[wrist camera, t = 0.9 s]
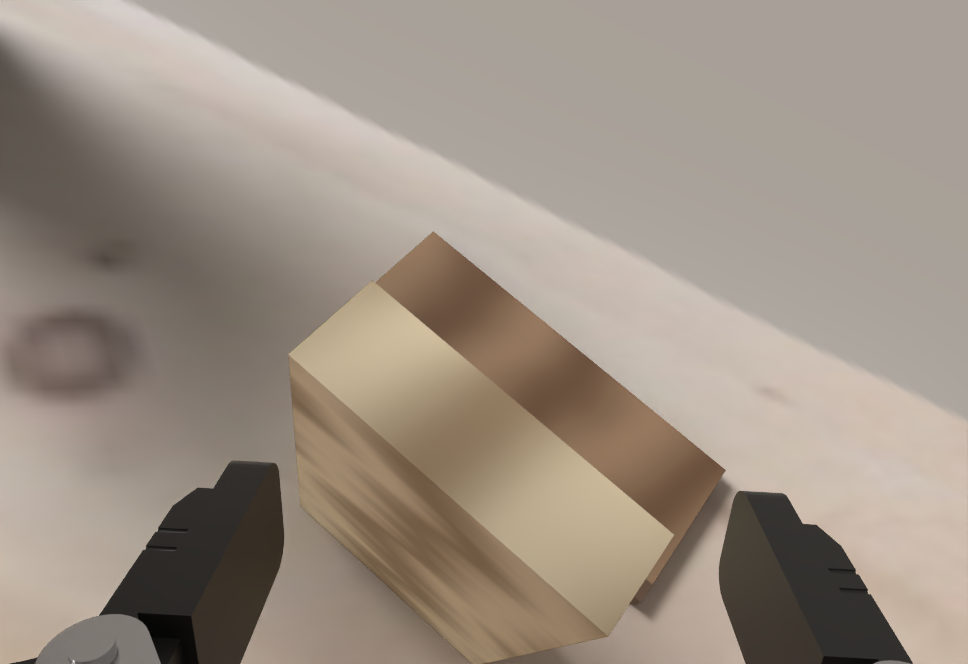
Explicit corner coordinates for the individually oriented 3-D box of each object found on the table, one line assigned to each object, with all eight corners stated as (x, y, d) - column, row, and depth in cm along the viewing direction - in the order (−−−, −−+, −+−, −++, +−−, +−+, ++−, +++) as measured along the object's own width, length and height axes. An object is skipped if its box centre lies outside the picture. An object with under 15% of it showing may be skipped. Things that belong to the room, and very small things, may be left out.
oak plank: (300, 505, 32) (288, 354, 18) (353, 451, 34) (379, 273, 20) (474, 665, 31) (607, 636, 17) (521, 601, 32) (680, 525, 18)
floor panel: (323, 337, 36) (323, 328, 35) (430, 241, 39) (433, 231, 39) (632, 605, 33) (640, 602, 32) (716, 475, 37) (725, 470, 36)
